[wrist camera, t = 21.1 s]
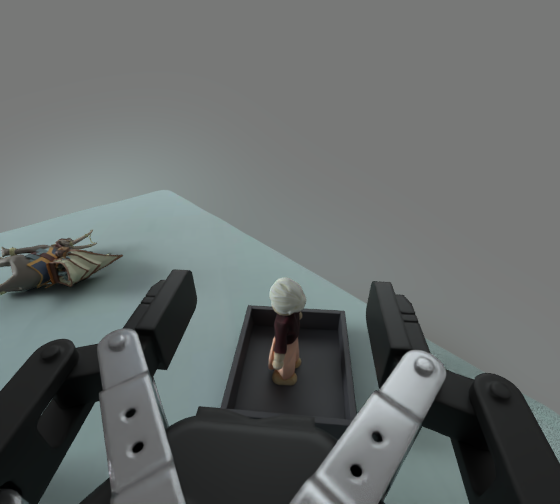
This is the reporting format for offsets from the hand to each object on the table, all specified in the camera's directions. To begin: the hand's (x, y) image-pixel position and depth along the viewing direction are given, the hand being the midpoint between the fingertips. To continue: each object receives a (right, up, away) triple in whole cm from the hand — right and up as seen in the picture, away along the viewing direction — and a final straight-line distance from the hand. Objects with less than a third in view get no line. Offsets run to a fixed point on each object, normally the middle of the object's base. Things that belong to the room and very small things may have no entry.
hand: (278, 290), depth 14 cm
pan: (+1, -12, +21) cm, 24 cm away
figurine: (-35, -3, +37) cm, 51 cm away
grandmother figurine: (+1, -12, +21) cm, 24 cm away
